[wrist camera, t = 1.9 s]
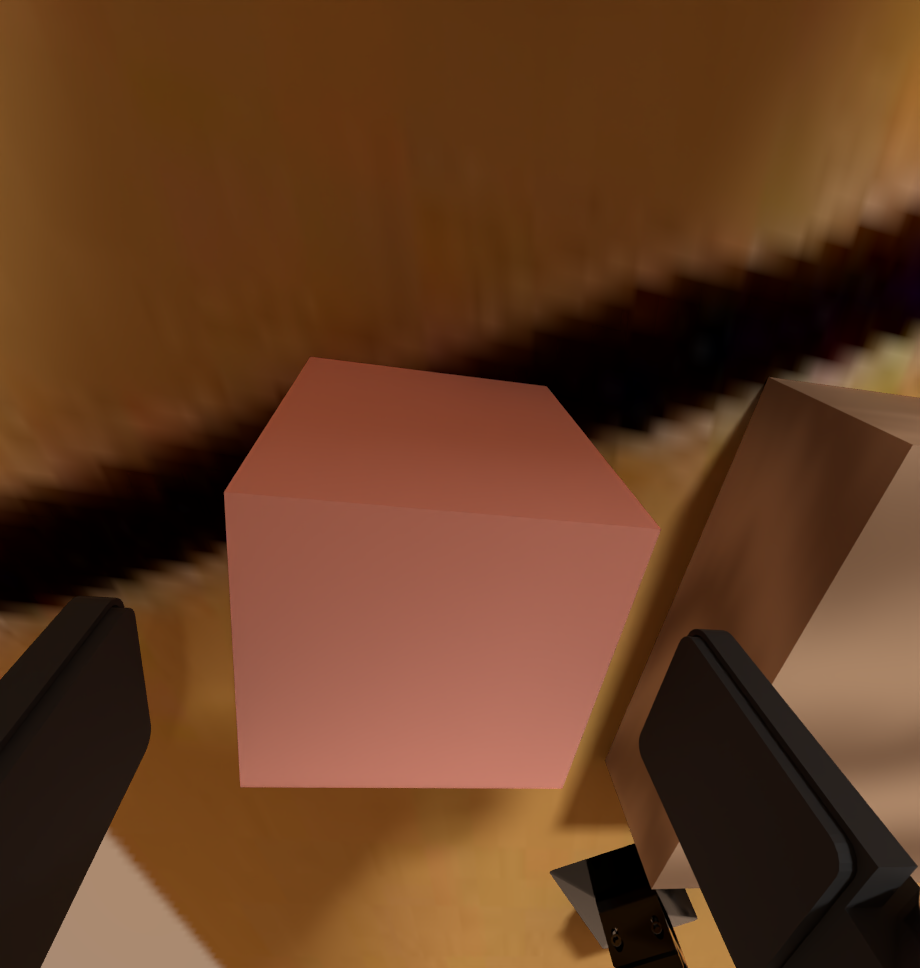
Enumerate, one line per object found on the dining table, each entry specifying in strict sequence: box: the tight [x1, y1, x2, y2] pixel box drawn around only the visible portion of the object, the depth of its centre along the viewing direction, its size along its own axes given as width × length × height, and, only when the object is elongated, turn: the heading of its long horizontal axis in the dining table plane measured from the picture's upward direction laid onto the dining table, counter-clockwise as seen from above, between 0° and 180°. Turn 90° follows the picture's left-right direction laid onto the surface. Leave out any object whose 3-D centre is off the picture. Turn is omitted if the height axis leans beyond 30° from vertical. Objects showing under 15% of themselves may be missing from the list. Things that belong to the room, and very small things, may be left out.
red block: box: [224, 357, 661, 789], centre depth 12 cm, size 6×6×7 cm
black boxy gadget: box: [550, 844, 697, 968], centre depth 25 cm, size 12×7×5 cm, turn 23°
